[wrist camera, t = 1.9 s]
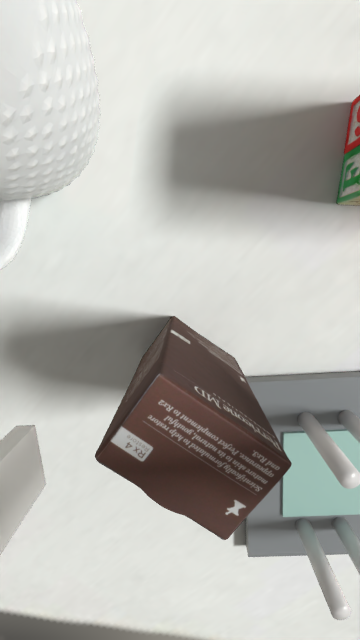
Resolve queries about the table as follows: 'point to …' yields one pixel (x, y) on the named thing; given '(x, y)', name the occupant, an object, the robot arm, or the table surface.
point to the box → (194, 433)
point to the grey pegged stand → (312, 475)
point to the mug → (42, 107)
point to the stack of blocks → (351, 160)
